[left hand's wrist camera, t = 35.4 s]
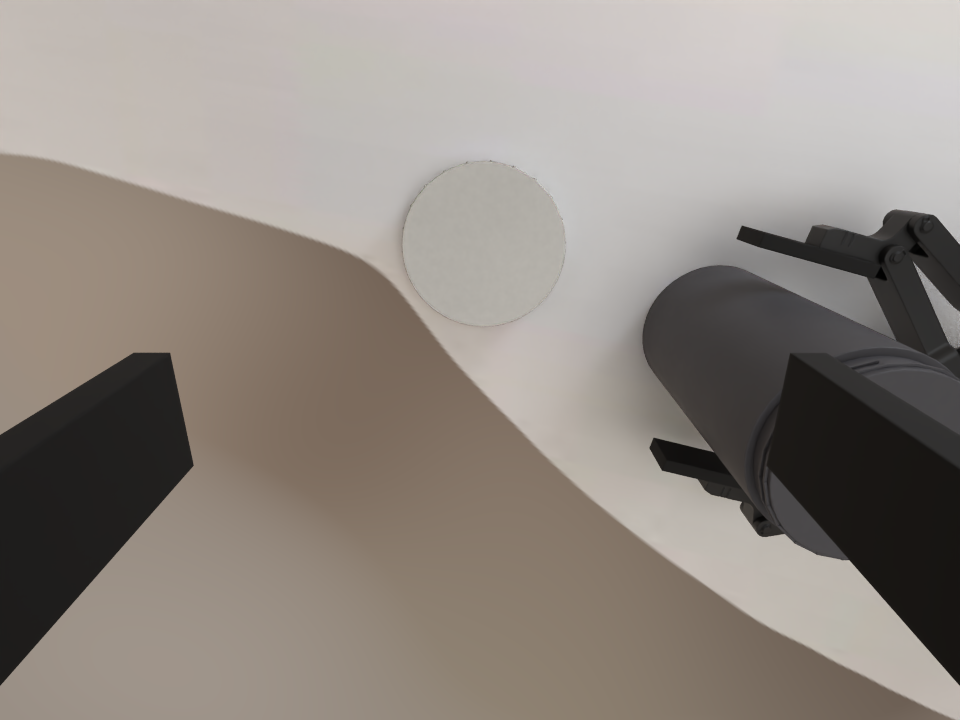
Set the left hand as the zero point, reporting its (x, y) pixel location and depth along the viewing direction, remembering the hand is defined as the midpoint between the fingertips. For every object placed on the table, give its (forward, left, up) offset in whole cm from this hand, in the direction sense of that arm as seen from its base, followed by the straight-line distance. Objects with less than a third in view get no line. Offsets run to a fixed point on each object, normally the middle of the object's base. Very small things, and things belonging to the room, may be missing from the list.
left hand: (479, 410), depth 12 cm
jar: (+17, 0, -26) cm, 31 cm away
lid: (0, 0, -24) cm, 24 cm away
